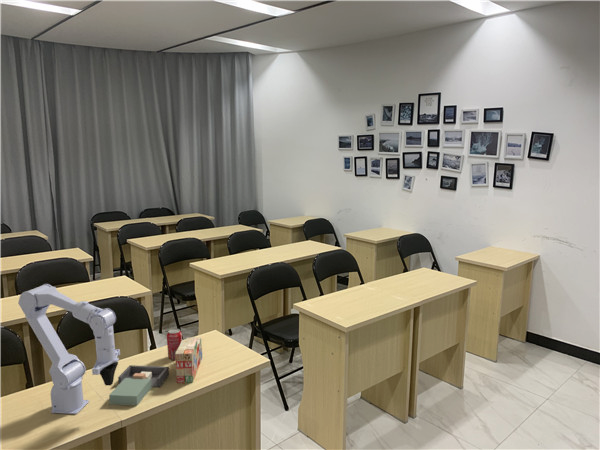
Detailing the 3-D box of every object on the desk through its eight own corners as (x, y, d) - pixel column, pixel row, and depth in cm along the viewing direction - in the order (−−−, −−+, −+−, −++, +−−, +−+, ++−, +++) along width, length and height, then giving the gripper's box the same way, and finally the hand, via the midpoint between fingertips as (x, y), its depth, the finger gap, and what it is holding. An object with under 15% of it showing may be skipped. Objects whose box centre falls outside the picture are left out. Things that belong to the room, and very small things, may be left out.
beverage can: (176, 352, 200) (175, 326, 198) (186, 356, 196) (184, 330, 194) (165, 358, 195) (163, 331, 193) (174, 362, 191) (172, 335, 189)
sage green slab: (109, 404, 160) (109, 395, 160) (125, 386, 172) (125, 377, 171) (137, 405, 159) (136, 396, 159) (151, 387, 171) (150, 378, 170)
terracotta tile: (132, 375, 171) (135, 373, 173) (133, 385, 172) (136, 382, 174) (143, 376, 171) (145, 373, 173) (143, 386, 171) (146, 383, 173)
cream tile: (141, 371, 178) (142, 376, 179) (137, 376, 174) (137, 381, 175) (151, 371, 178) (152, 376, 178) (147, 377, 174) (147, 381, 174)
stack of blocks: (187, 357, 195) (186, 330, 193) (202, 357, 195) (201, 330, 193) (176, 383, 174) (174, 353, 172) (193, 383, 174) (191, 352, 172)
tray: (118, 385, 173) (118, 377, 172) (130, 373, 182) (129, 365, 181) (159, 387, 171) (159, 378, 171) (169, 374, 180) (168, 366, 180)
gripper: (105, 356, 143) (109, 396, 146) (127, 337, 158) (130, 374, 160) (84, 355, 144) (88, 395, 146) (107, 337, 158) (111, 373, 161)
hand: (108, 384), depth 153 cm, fingers closed
